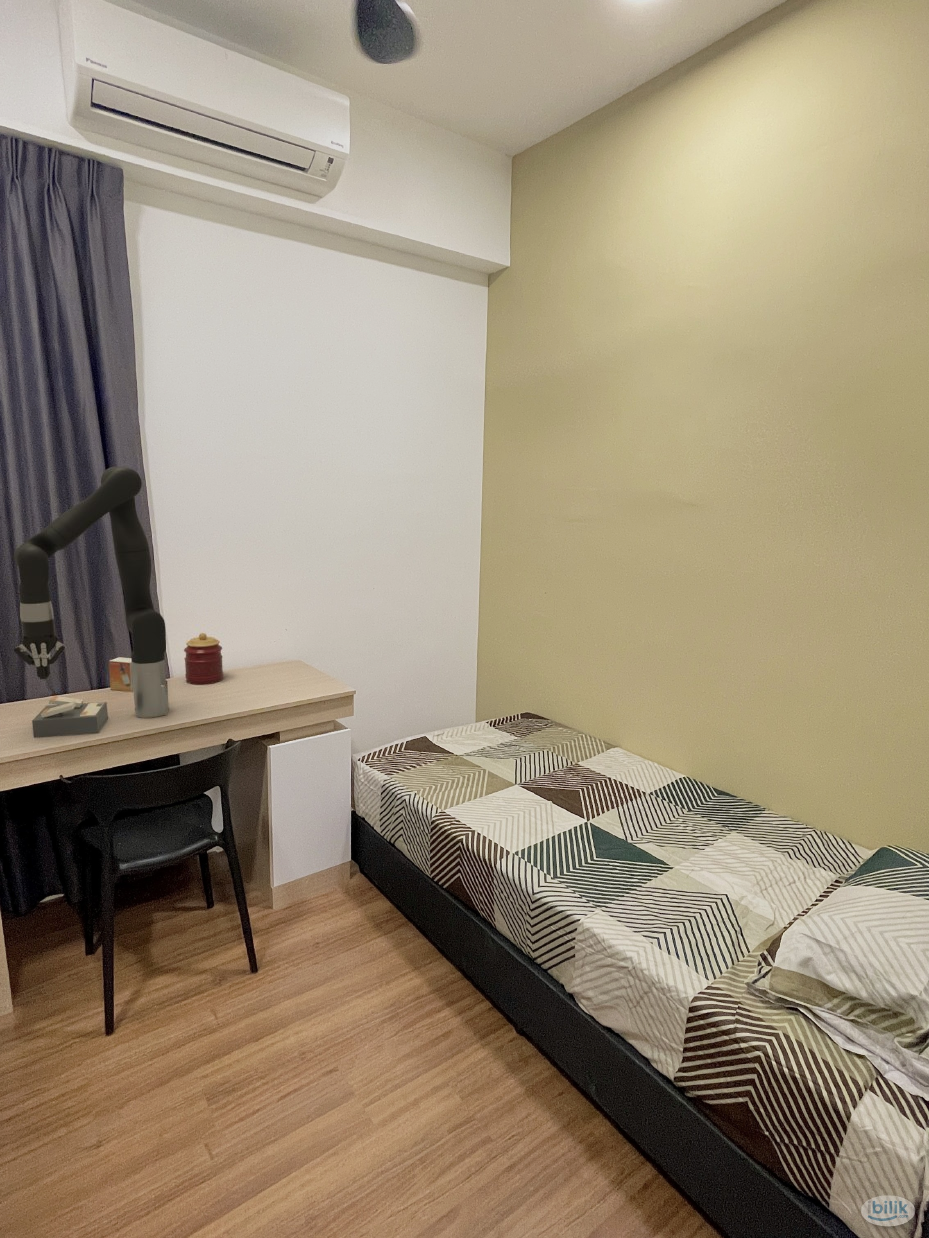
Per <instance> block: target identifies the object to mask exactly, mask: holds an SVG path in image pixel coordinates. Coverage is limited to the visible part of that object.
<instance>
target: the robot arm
mask: <svg viewBox="0 0 929 1238" xmlns="http://www.w3.org/2000/svg"><path fill="white" fill-rule="evenodd" d="M142 485H143V481H142V478H141V476H140V474H139V473H138V472H137V471H136V470H134V469H133V468H130V467H129V466H128V467H127V466H110V467H109V468H107V469H105V470H104V472H103V473H102V475H101V478H100V486H99V487H98V488H97V489H96V490H95V491H94V492H92V493H91V494H90V495H89V496H88V497H86V498H85V499H83V500H82V501H81V502H79V503H77V504H76V505H74V506H73V507H70V508H69V509H68V510H66V511H65V512H63V513H62V514H60V515H59V516H58V517H57V518H55V519H54V520H53V521H51V522H50V523H49V524H48V525H47V526H45V528H43V529H42V530H41V531H40V532H39V533H37V534H36V535H33V536H32V537H30V538H29V539H28V540H26V541H24V542H23V543H21V545H19V546H18V547H17V548H16V549H15V551H14V554H13V561H14V563H15V565H17V567H18V573H19V574H18V575H19V581H20V583H19V584H18V594H19V604H20V608H19V612H20V615H19V618H20V622H21V630H22V640H21V644H19V645H17V646H15V648H13V652H14V653H15V654H16V655H17V656H18V657H20V658H21V660H23V662H25V663H27V665H28V666H34V667H35V668H36V675H37V678H39V679H40V680H47V679H48V678H49V677H50V676H51V666H50V665H52V664H55V663H56V662H57V660H58V659H59V658H60V657H61V655H62V654H63V653H64V652H65V650H66V649H67V648H68V645H67V644H66V643H62V642H60V641H59V638H58V637H57V635H56V628H55V617H54V609H53V605H52V600H51V598H52V597H51V591H50V585H49V582H50V581H49V578H50V565H49V564H50V562H49V561H50V560H49V558H51V557H52V556H53V555H54V554H56V553H57V552H58V551H62V550H63V549H66V548H67V547H69V545H71V544H72V543H73V542H75V541H76V540H77V539H78V538H79V537H80V536H81V535H83V533H85V532H86V531H88V529H89V528H90V527H92V526H93V525H94V524H95V523H97V522H98V521H99V520H100V519H101V518H103V517H104V516H105V515H108V513H109V517H110V525H111V527H110V528H111V534H112V535H111V536H112V541H113V549H114V555H115V560H116V561H115V562H116V566H117V570H118V575H119V578H120V584H121V586H122V590H123V597H124V608H125V609H124V610H125V622H126V627H127V629H128V630H129V632H130V633H131V634H132V647H133V648H132V651H131V653H130V658H131V661H132V675H133V690H134V691H133V699H134V700H133V702H134V715H135V716H136V717H137V718H142V719H145V718H146V719H147V718H148V719H149V718H157V717H162V716H167V715H168V711H169V710H170V705H169V704H170V703H169V691H168V690H169V688H168V680H167V678H166V677H167V676H166V675H167V674H166V659H165V657H166V656H165V655H166V650H167V632H166V622H165V619H164V617H163V616H162V615H161V614H160V613H159V612H157V611H156V610H155V608H154V603H153V600H152V594H151V588H150V587H151V579H152V558H151V557H152V556H151V551H150V546H149V545H150V544H149V543H148V538H147V536H146V533H145V531H144V528H143V526H142V524H141V521H140V520H139V519H140V518H139V517H138V513H137V507H136V497H135V496H137V495H138V494H139V493H140V492H141V489H142ZM54 648H55V651H56V652H55V653H54V655H52V657H50V656H51V653H52V651H53V650H54ZM28 651H29V653H28ZM30 653H31V654H32V655H31V654H30Z"/></svg>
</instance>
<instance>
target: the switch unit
mask: <svg viewBox="0 0 929 1238" xmlns="http://www.w3.org/2000/svg"><path fill="white" fill-rule="evenodd" d="M57 706H60V705H56V704H49V705H45V706H44V708H42V710H41V711H40V712H39V713H38V714H37V715H36V716H35V717H33V719H32V720H31V723H32V733H33V738H35V739H36V738H48V737H59V736H60V737H62V736H63V737H64V736H77V735H91V734H99V732H100V731H101V730H102V727H103V726H104V725H105V723H106V721H107V720H108V717H109V716H108V715H109V714H108V703H107V701H102V702H86V703H85V702H83V704H82V705H81V706H80V707H74V709H72V710H69V711H65V712H62V713H58V714H54V715H51V716H47V717H44V718H42V716H41V713H42V712H43V711H44V710H45V709H49V708H53V707H57Z"/></svg>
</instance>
